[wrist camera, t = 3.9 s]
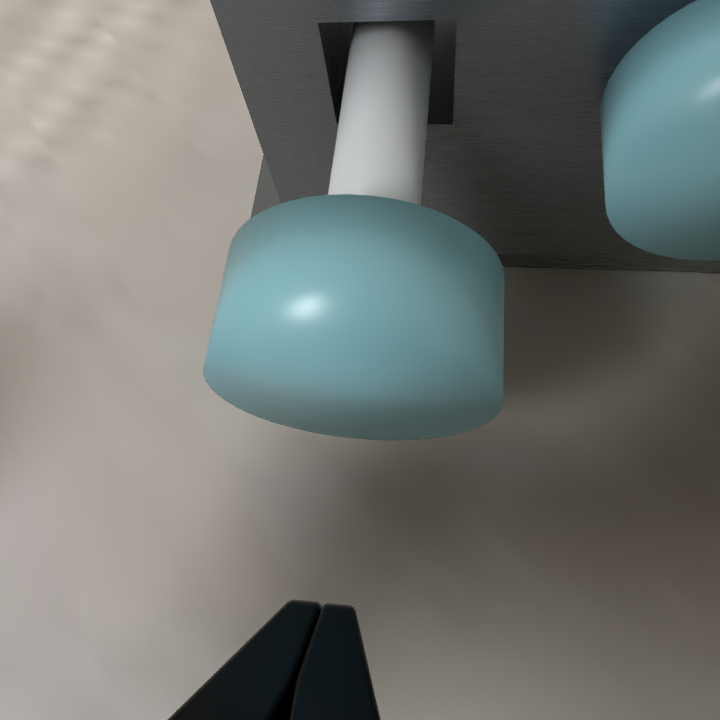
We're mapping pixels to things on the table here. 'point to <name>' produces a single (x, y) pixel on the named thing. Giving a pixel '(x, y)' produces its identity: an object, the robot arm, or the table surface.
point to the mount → (461, 113)
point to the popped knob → (365, 279)
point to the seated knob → (667, 137)
